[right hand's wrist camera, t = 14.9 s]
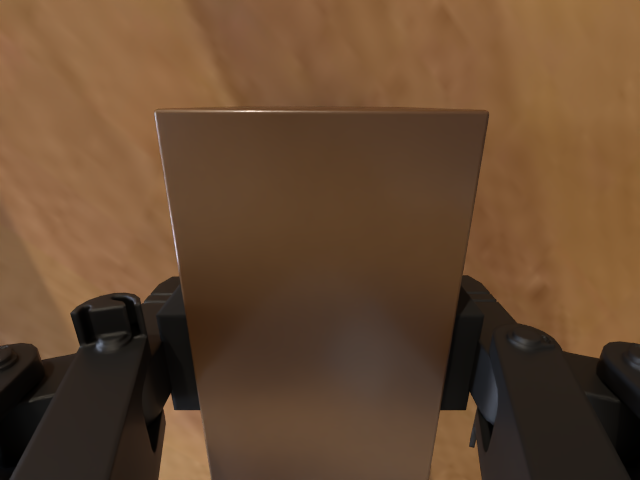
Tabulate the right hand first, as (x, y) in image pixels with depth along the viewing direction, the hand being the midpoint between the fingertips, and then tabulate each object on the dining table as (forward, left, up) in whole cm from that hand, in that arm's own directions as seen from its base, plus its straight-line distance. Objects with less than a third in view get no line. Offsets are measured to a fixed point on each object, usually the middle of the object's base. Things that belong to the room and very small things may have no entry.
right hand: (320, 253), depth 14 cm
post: (-2, -22, -1) cm, 22 cm away
